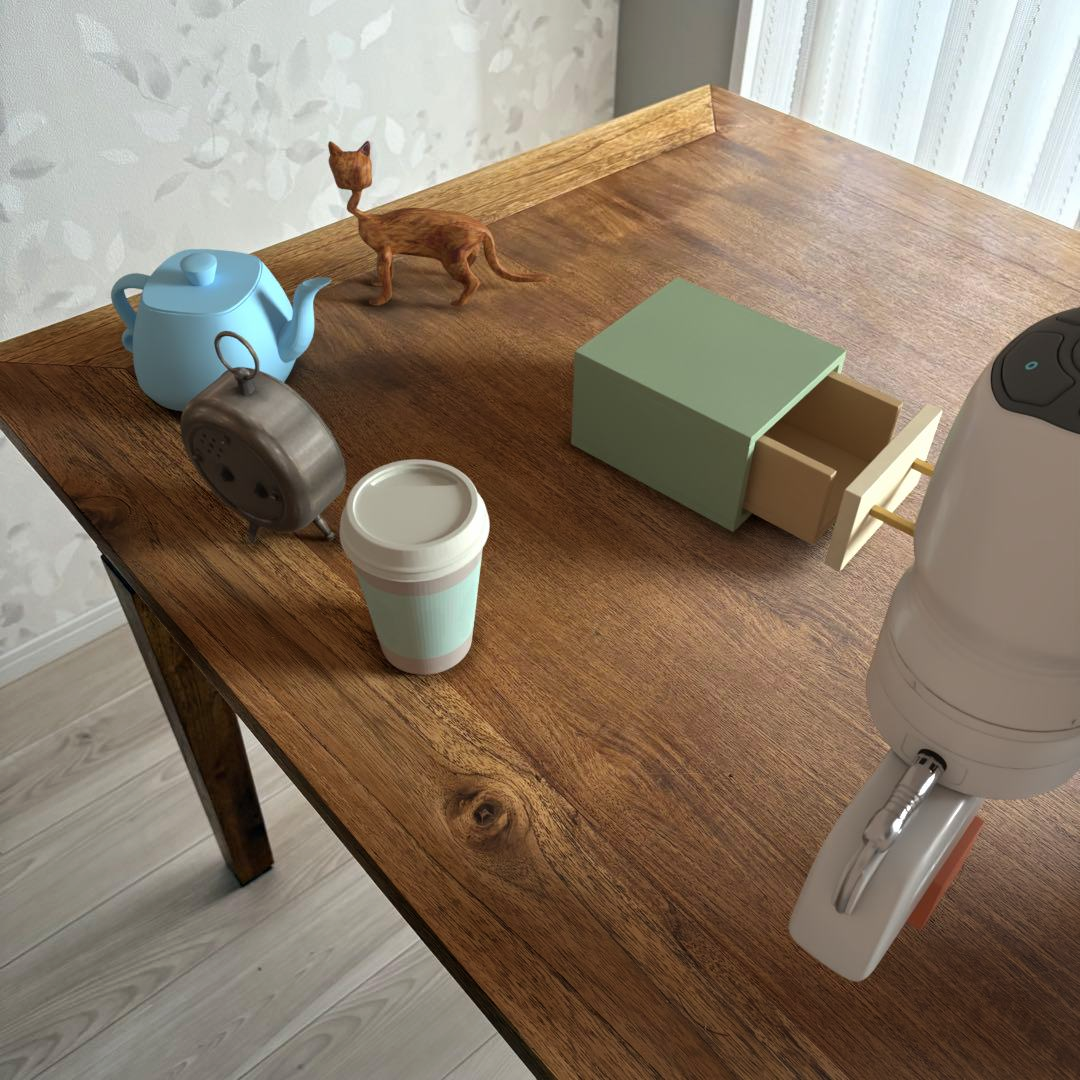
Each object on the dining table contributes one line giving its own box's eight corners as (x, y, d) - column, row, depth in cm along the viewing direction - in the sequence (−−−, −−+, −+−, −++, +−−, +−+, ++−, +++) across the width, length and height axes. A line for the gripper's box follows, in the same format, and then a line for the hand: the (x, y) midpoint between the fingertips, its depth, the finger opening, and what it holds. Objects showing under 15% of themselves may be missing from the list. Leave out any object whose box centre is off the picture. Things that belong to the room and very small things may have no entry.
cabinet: (823, 443, 84) (847, 350, 78) (733, 532, 78) (751, 438, 72) (667, 367, 91) (677, 276, 85) (570, 444, 84) (574, 350, 78)
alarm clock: (360, 532, 77) (330, 339, 66) (309, 580, 74) (268, 386, 63) (243, 474, 81) (195, 283, 70) (189, 518, 78) (130, 325, 67)
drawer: (980, 513, 78) (1010, 439, 73) (905, 607, 72) (933, 533, 67) (758, 407, 86) (771, 334, 81) (673, 483, 80) (682, 409, 75)
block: (961, 866, 55) (985, 820, 52) (920, 931, 53) (942, 887, 50) (882, 816, 57) (900, 769, 54) (838, 876, 55) (855, 830, 52)
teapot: (305, 321, 77) (58, 297, 78) (325, 439, 84) (99, 415, 86) (353, 228, 85) (130, 208, 87) (367, 343, 93) (162, 323, 95)
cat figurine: (547, 270, 101) (550, 124, 91) (551, 311, 96) (554, 162, 87) (349, 273, 100) (329, 127, 91) (343, 315, 96) (322, 166, 86)
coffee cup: (518, 621, 72) (517, 484, 63) (444, 714, 67) (432, 579, 58) (410, 571, 75) (395, 434, 66) (331, 657, 70) (303, 520, 61)
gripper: (938, 922, 37) (859, 1069, 47) (1158, 576, 48) (1056, 755, 58) (776, 814, 40) (734, 974, 50) (1017, 511, 51) (944, 692, 61)
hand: (908, 855), depth 54 cm, fingers closed on block, 4 cm apart
